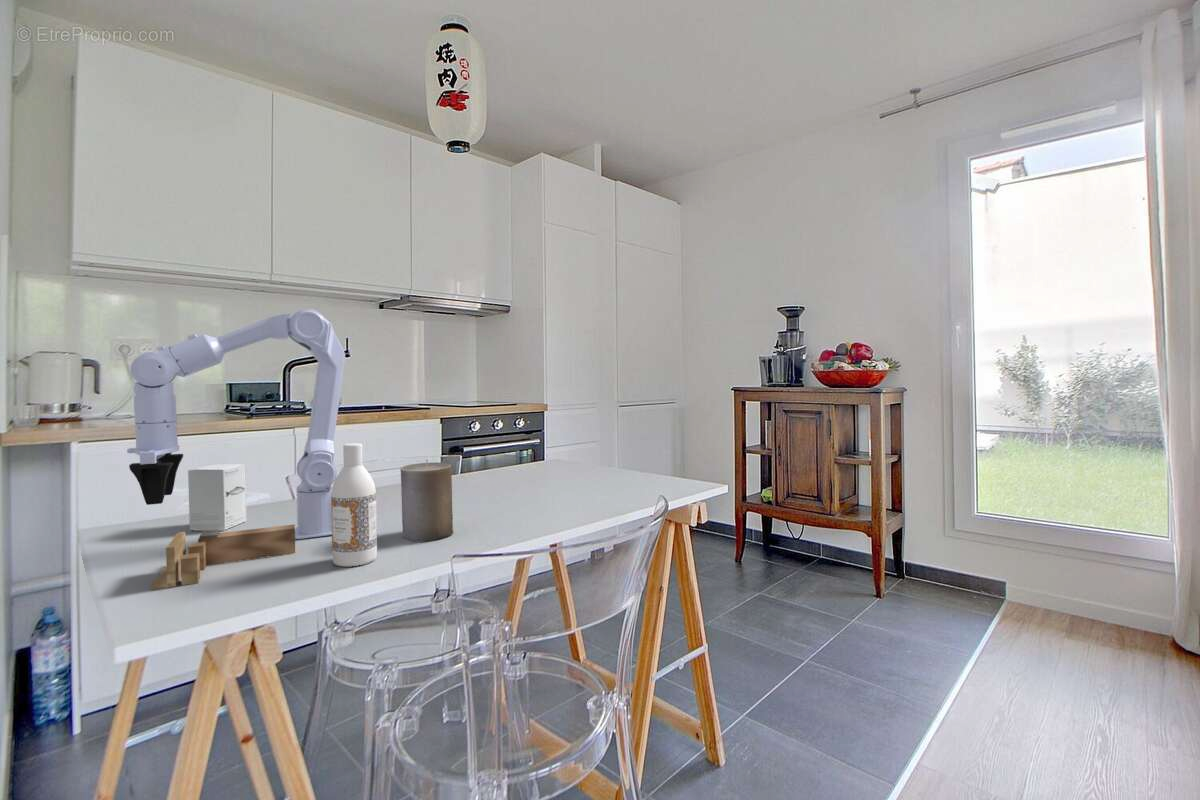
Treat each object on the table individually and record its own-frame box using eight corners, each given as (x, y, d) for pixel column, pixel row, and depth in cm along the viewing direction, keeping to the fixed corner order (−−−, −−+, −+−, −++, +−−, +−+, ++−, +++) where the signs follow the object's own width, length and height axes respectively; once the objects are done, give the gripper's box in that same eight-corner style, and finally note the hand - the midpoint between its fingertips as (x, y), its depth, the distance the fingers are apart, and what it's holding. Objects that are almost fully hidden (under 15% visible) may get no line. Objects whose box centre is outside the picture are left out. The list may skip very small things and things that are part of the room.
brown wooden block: (295, 548, 101) (294, 521, 101) (295, 553, 99) (294, 525, 99) (201, 561, 95) (200, 532, 95) (198, 566, 92) (197, 536, 92)
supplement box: (224, 531, 113) (222, 469, 112) (188, 531, 113) (186, 469, 112) (248, 521, 120) (246, 463, 119) (214, 521, 120) (212, 463, 119)
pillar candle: (458, 527, 115) (456, 455, 115) (446, 541, 106) (444, 463, 105) (410, 528, 115) (408, 456, 114) (394, 542, 105) (392, 464, 105)
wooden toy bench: (206, 564, 93) (205, 529, 92) (197, 583, 85) (196, 544, 84) (164, 570, 90) (163, 534, 90) (151, 590, 82) (149, 549, 82)
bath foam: (323, 565, 93) (320, 445, 92) (353, 552, 99) (350, 441, 98) (357, 569, 90) (354, 447, 90) (385, 556, 97) (383, 442, 96)
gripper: (137, 420, 102) (141, 493, 102) (114, 426, 89) (118, 511, 89) (185, 418, 105) (188, 489, 106) (169, 424, 92) (172, 505, 93)
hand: (159, 499), depth 98 cm, fingers open, 7 cm apart
